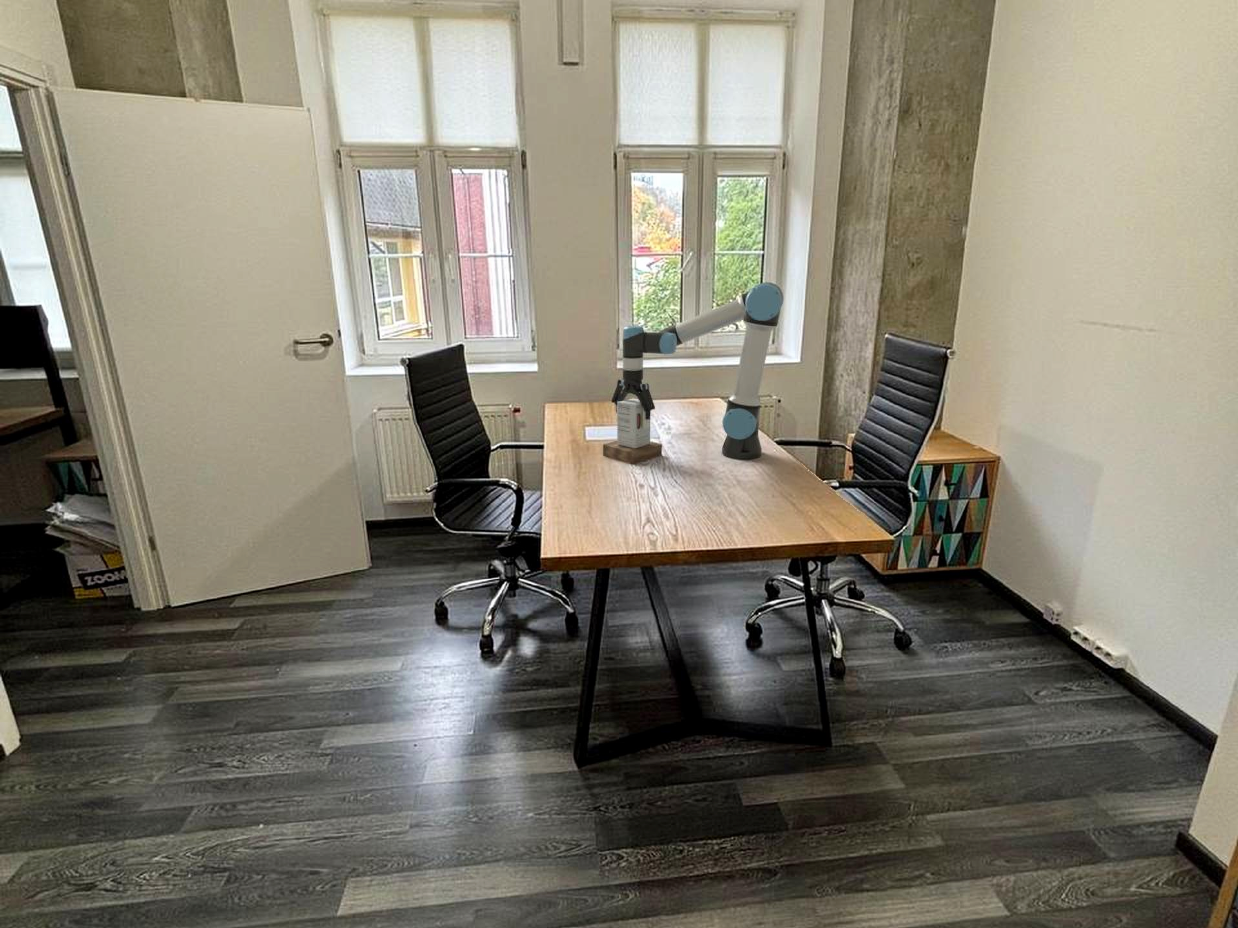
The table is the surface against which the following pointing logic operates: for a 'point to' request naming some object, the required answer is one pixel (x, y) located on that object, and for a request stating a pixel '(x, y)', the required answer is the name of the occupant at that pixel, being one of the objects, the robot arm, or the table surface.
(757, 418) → the robot arm
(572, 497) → the table surface
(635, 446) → the supplement box
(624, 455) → the walnut block
